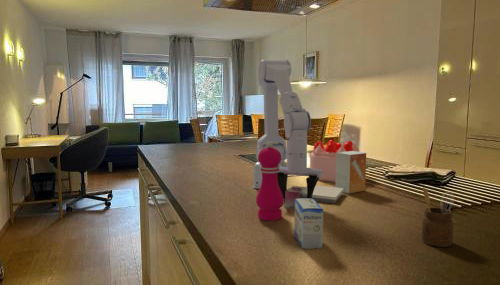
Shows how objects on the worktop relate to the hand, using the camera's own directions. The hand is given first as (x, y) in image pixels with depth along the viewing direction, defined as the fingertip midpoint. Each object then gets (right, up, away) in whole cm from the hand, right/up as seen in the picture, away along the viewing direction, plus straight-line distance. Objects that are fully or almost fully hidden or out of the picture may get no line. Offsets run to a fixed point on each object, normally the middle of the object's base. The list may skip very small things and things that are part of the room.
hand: (296, 199), depth 105 cm
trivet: (+9, -1, +9) cm, 13 cm away
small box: (+20, 0, +17) cm, 26 cm away
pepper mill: (-8, -3, -10) cm, 13 cm away
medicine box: (-1, -5, -27) cm, 27 cm away
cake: (+20, +3, +39) cm, 44 cm away
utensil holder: (+26, -5, -28) cm, 39 cm away
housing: (0, -2, 0) cm, 2 cm away
